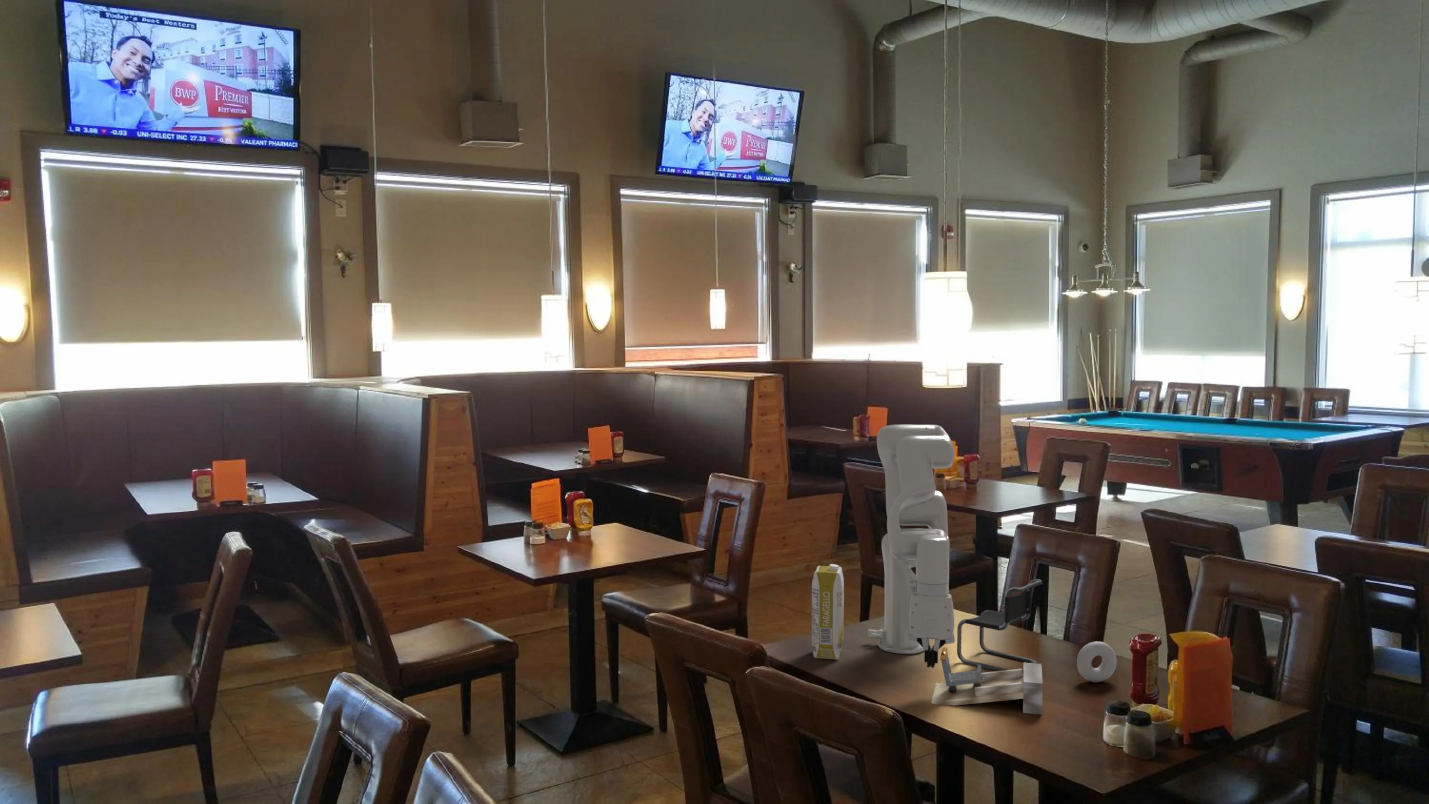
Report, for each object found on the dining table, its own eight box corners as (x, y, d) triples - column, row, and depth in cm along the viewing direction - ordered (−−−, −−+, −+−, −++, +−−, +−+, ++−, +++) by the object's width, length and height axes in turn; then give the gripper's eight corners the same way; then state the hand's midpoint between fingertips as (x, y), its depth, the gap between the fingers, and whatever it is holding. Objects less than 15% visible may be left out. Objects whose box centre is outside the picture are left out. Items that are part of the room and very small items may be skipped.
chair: (1019, 677, 246) (1020, 588, 245) (955, 661, 258) (957, 577, 257) (1042, 664, 256) (1044, 579, 254) (980, 650, 268) (981, 568, 266)
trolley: (939, 692, 232) (940, 655, 231) (941, 683, 238) (942, 647, 238) (981, 696, 229) (982, 659, 228) (982, 686, 235) (983, 650, 235)
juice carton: (841, 661, 258) (842, 569, 257) (810, 659, 260) (811, 567, 259) (844, 650, 268) (844, 561, 266) (814, 648, 269) (814, 560, 268)
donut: (1080, 685, 240) (1081, 644, 240) (1073, 680, 244) (1074, 640, 243) (1119, 683, 242) (1120, 642, 241) (1111, 678, 245) (1112, 638, 245)
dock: (931, 707, 229) (931, 673, 228) (936, 687, 242) (936, 654, 242) (1041, 718, 222) (1042, 683, 221) (1040, 697, 235) (1041, 663, 235)
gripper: (897, 589, 233) (896, 667, 234) (964, 594, 228) (962, 674, 229) (901, 582, 240) (900, 657, 241) (966, 587, 235) (964, 663, 237)
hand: (931, 665), depth 235 cm, fingers closed
